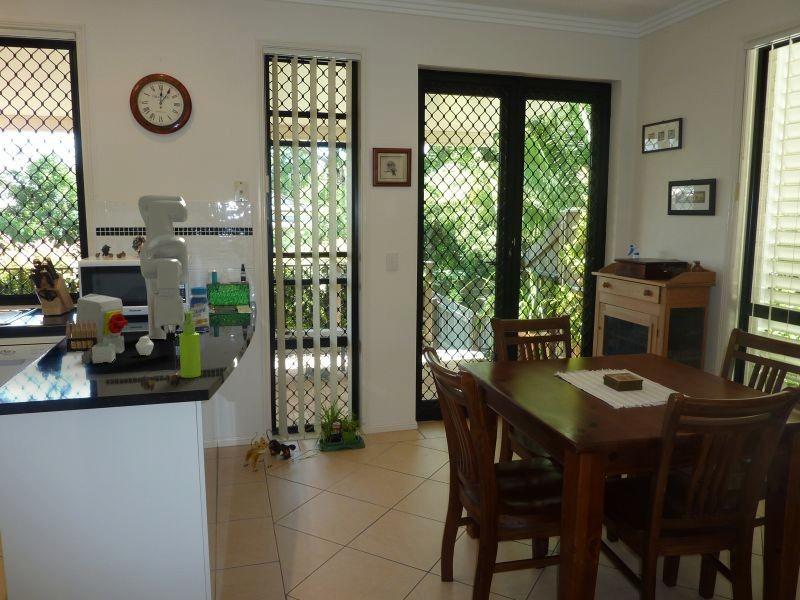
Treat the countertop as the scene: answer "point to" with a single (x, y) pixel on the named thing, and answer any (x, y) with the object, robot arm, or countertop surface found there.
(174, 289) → the robot arm
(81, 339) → the ammunition clip
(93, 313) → the electrical switch box
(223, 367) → the countertop surface
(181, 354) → the soap dispenser
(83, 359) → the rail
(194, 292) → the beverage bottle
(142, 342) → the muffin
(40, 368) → the countertop surface
